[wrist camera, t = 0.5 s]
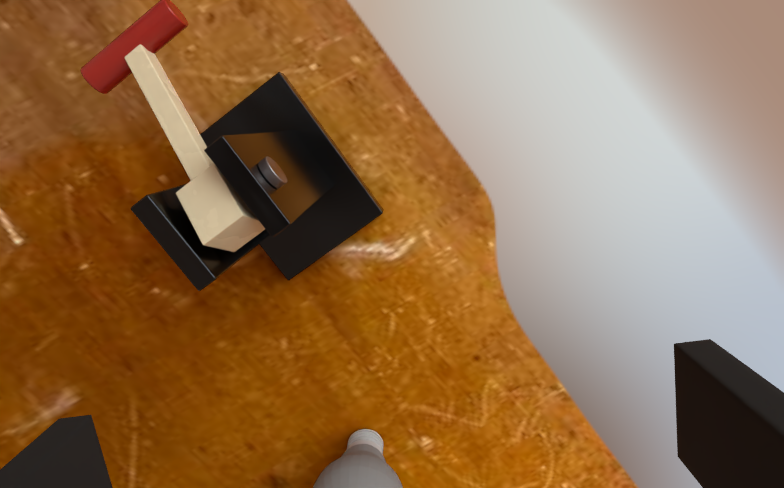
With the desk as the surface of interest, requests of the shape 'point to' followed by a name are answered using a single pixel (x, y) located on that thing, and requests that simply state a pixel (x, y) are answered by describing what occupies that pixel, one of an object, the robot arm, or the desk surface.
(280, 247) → the bracket
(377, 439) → the light bulb
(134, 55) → the lever
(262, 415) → the desk surface
